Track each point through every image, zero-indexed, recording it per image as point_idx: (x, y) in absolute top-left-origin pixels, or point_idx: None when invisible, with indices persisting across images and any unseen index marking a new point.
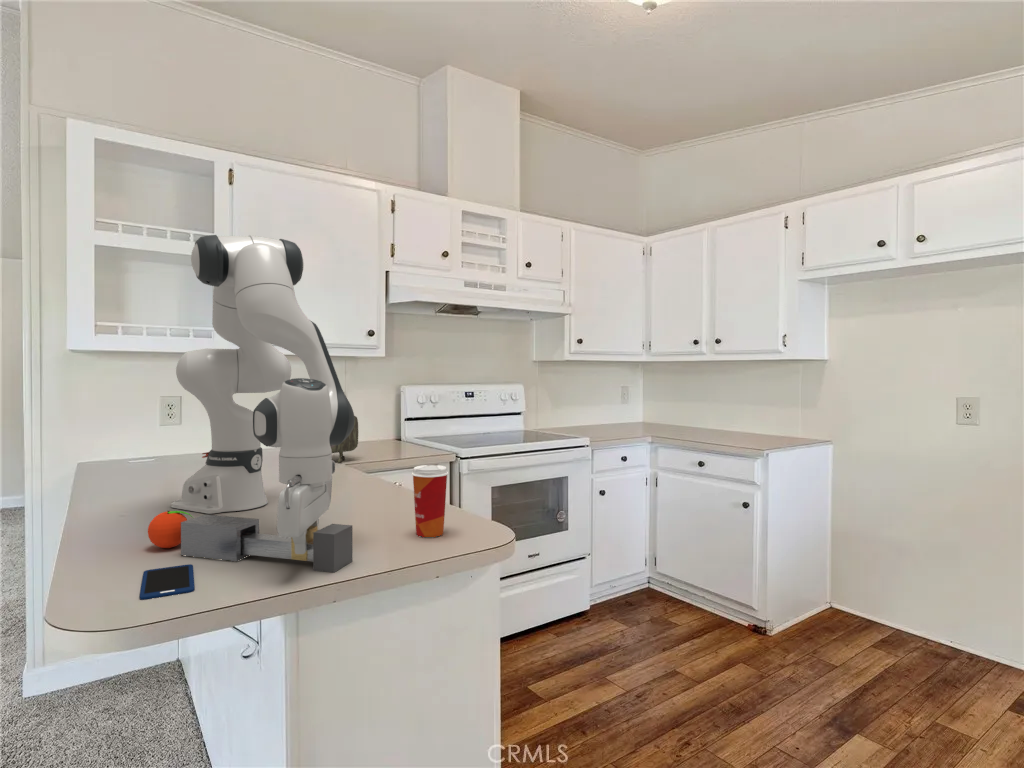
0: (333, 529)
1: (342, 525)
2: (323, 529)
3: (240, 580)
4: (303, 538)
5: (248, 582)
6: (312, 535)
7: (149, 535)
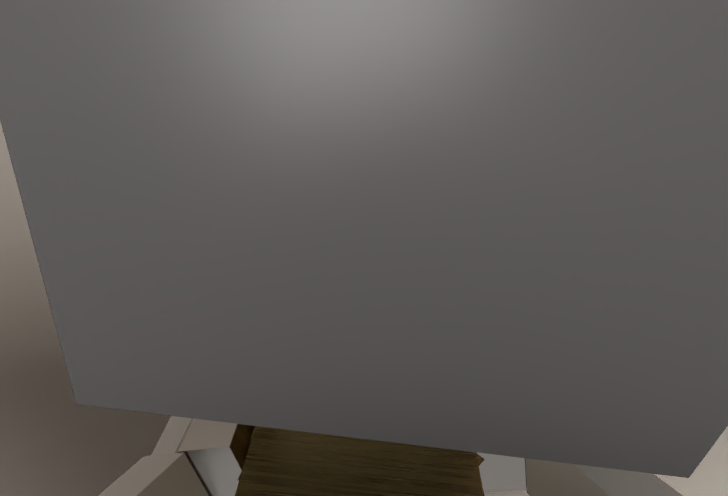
0: (471, 247)
1: (98, 184)
2: (488, 410)
3: (679, 483)
4: (661, 485)
5: (720, 445)
6: (358, 450)
7: None
